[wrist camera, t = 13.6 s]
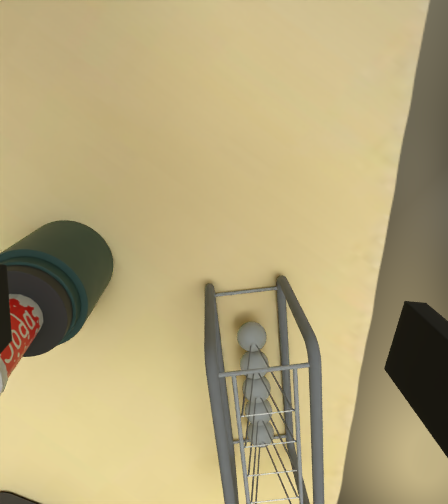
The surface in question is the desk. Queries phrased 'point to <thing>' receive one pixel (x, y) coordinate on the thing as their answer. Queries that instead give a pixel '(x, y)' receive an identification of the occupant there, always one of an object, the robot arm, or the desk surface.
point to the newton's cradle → (263, 396)
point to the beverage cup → (19, 333)
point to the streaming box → (12, 499)
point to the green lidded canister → (59, 278)
